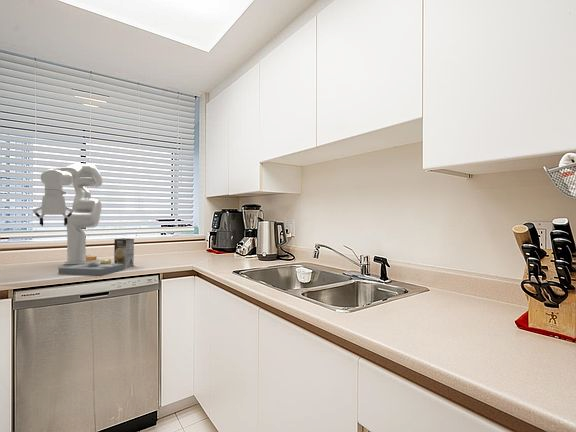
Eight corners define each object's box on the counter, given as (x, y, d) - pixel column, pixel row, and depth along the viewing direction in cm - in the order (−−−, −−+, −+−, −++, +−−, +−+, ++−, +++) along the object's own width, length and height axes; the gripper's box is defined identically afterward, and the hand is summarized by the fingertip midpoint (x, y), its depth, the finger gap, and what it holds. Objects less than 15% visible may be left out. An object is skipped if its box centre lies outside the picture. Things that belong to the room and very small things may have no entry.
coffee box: (113, 266, 182) (113, 238, 182) (122, 264, 188) (122, 238, 188) (125, 267, 179) (125, 239, 179) (134, 265, 185) (134, 238, 185)
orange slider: (90, 262, 174) (90, 256, 174) (96, 262, 174) (96, 256, 174) (85, 263, 171) (85, 256, 171) (92, 263, 171) (92, 256, 171)
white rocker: (91, 263, 167) (91, 260, 167) (99, 261, 166) (99, 259, 166) (85, 264, 163) (85, 261, 163) (93, 262, 162) (93, 260, 162)
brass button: (105, 262, 166) (105, 259, 166) (113, 262, 165) (113, 259, 165) (98, 264, 161) (98, 260, 161) (106, 264, 160) (106, 260, 160)
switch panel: (86, 268, 175) (86, 261, 175) (125, 269, 171) (125, 262, 171) (58, 273, 157) (58, 266, 157) (100, 275, 154) (100, 268, 154)
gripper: (73, 194, 172) (73, 225, 172) (33, 193, 161) (33, 225, 162) (74, 193, 166) (74, 225, 166) (32, 192, 155) (32, 226, 156)
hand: (53, 225), depth 164 cm, fingers open, 9 cm apart
